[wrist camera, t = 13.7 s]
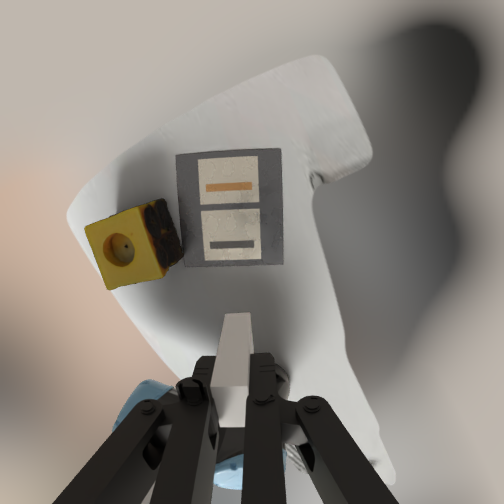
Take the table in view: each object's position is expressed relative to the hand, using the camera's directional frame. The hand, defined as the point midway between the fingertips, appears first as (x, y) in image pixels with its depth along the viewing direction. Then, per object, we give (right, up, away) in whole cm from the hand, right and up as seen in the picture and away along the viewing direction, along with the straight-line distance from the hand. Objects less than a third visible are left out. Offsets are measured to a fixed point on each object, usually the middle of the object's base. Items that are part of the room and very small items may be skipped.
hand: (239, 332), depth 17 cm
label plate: (-3, +11, +26) cm, 28 cm away
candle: (-16, +8, +27) cm, 33 cm away
